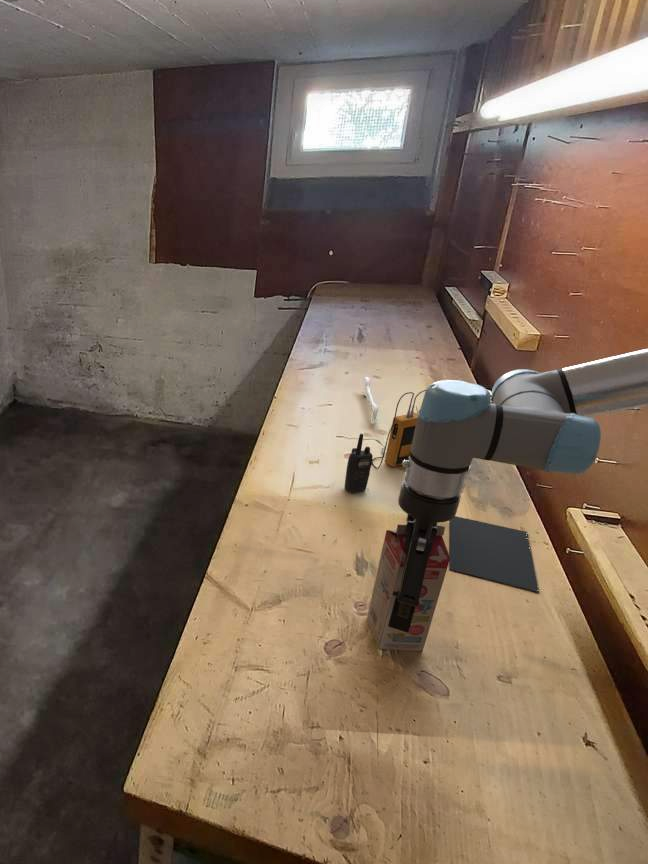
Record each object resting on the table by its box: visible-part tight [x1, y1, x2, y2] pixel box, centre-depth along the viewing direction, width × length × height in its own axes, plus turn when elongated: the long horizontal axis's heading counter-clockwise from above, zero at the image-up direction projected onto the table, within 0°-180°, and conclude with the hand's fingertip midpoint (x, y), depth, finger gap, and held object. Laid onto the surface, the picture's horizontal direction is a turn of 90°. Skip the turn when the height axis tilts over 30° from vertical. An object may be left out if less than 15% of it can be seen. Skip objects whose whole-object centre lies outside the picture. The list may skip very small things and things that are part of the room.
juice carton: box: [366, 523, 450, 652], centre depth 88 cm, size 7×7×22 cm
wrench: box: [362, 377, 379, 425], centre depth 172 cm, size 28×2×6 cm, turn 164°
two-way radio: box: [344, 433, 374, 493], centre depth 130 cm, size 6×4×15 cm
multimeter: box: [371, 389, 427, 470], centre depth 142 cm, size 15×10×20 cm
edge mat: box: [448, 515, 540, 593], centre depth 111 cm, size 14×20×1 cm
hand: (401, 599), depth 90 cm, fingers open, 13 cm apart
